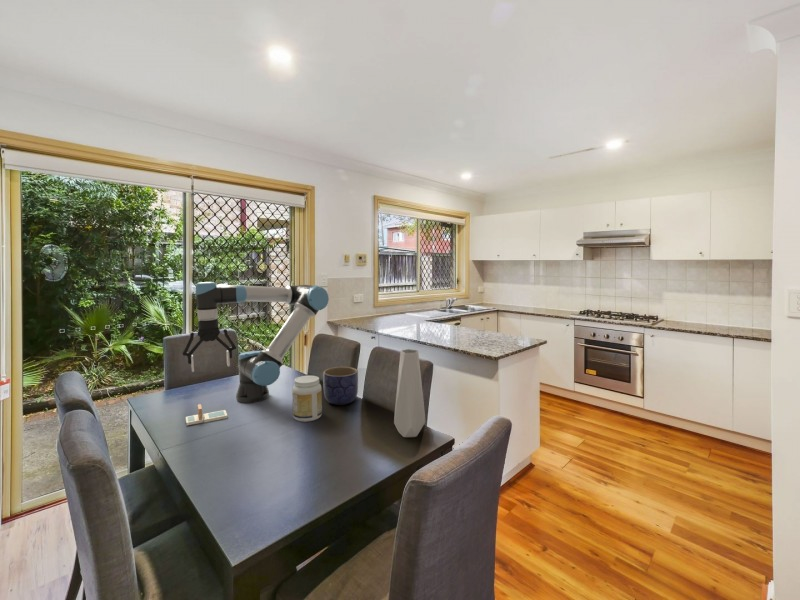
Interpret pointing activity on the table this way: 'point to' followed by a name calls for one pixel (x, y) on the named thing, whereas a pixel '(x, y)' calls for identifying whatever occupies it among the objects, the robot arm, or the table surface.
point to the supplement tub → (307, 398)
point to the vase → (409, 395)
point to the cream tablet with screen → (214, 416)
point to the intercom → (195, 417)
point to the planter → (340, 385)
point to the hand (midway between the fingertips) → (211, 368)
